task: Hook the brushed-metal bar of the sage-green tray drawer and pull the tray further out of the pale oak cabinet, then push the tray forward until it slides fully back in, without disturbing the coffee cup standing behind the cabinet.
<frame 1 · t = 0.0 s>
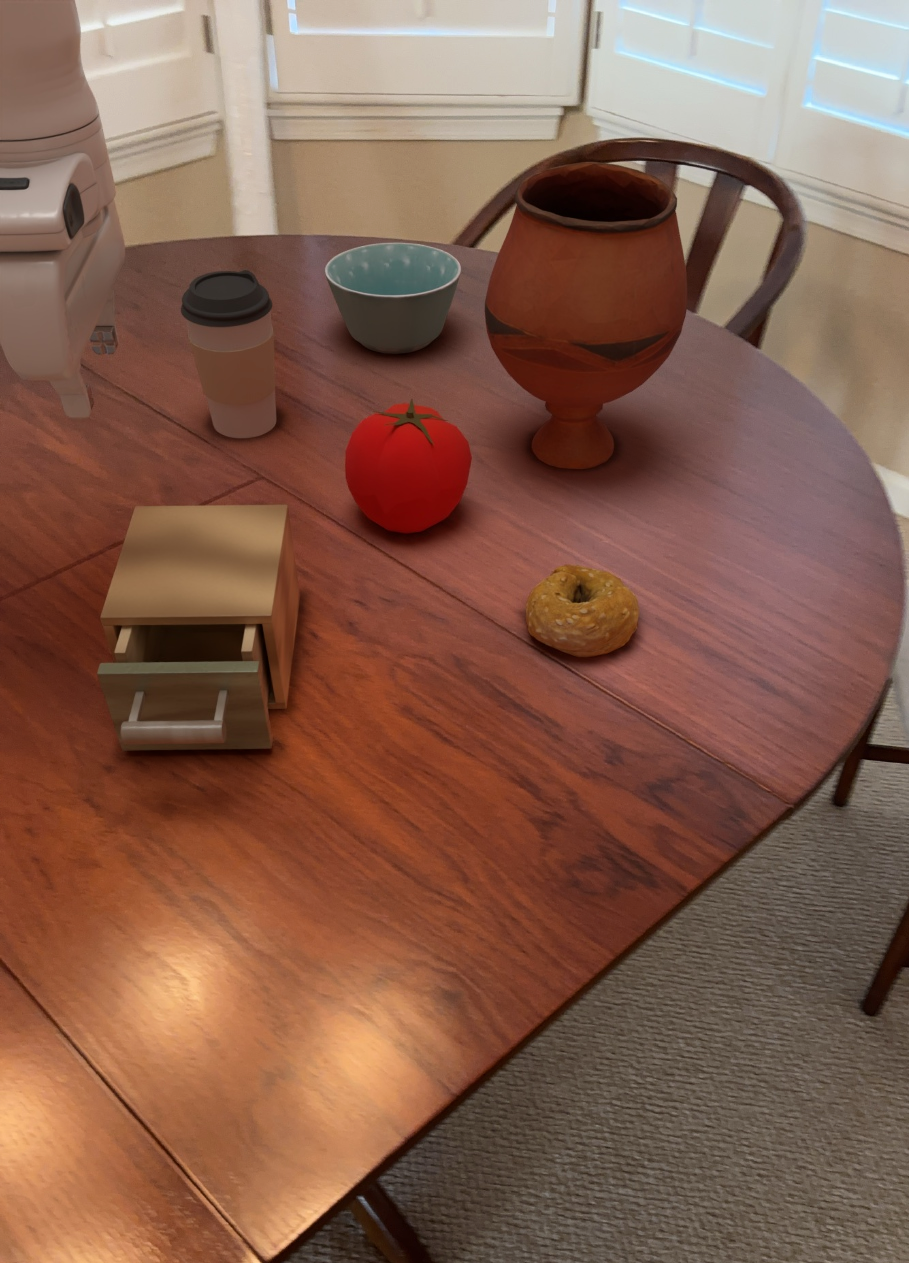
hand: (94, 380, 78), 21 cm above the table, tool pointing down, fingers open, 8 cm apart
goblet: (572, 451, 112), on the table
tray drawer: (195, 673, 81), point 5 cm above the table, slide at 4.0 cm
coffee cup: (245, 425, 116), on the table
tomato: (409, 518, 104), on the table
bowl: (395, 339, 129), on the table
cabinet: (219, 652, 90), on the table
bagel: (580, 627, 93), on the table
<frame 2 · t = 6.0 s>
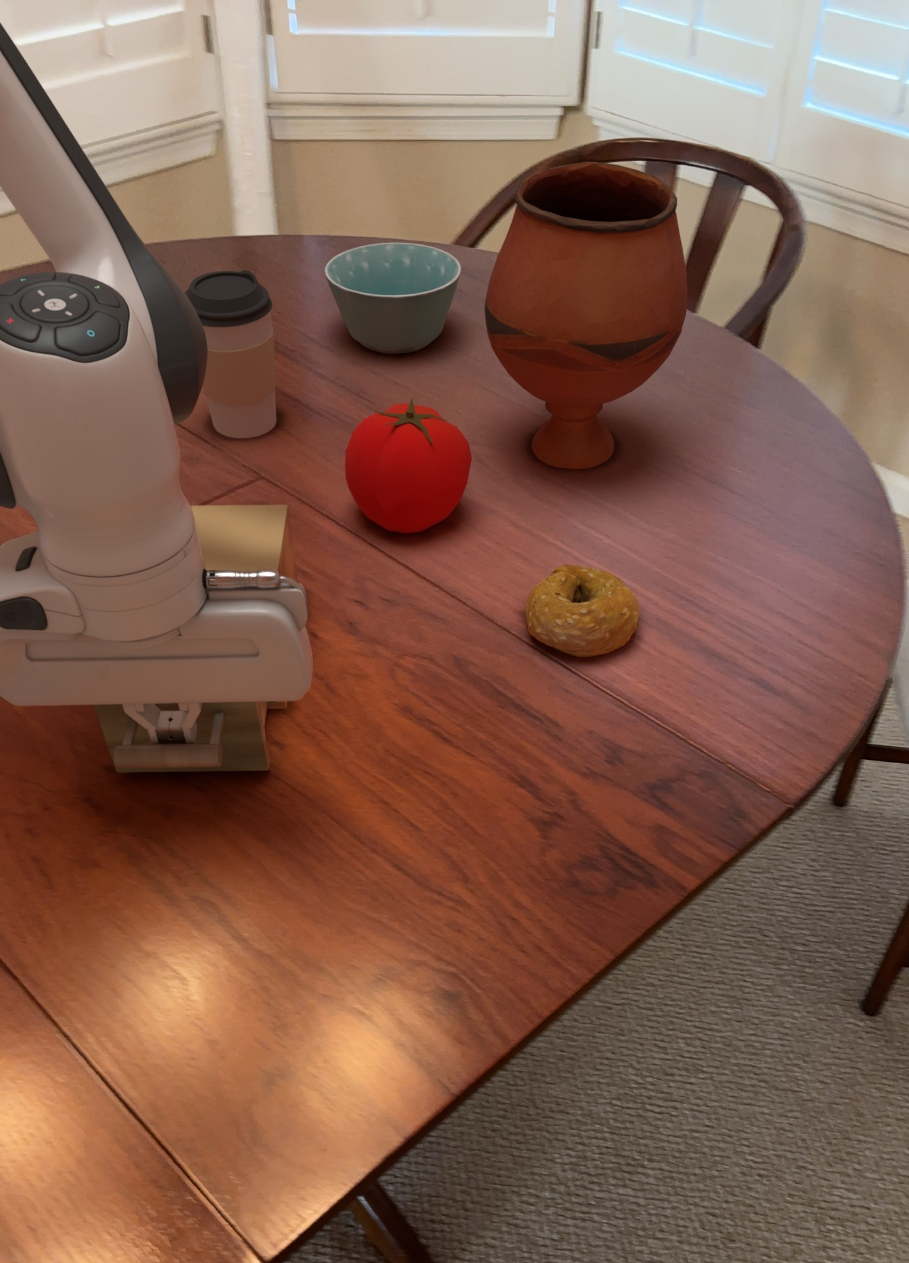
hand: (175, 738, 74), 7 cm above the table, tool pointing down, fingers closed
tray drawer: (191, 693, 80), point 5 cm above the table, slide at 6.3 cm, touching gripper
everything else where it was.
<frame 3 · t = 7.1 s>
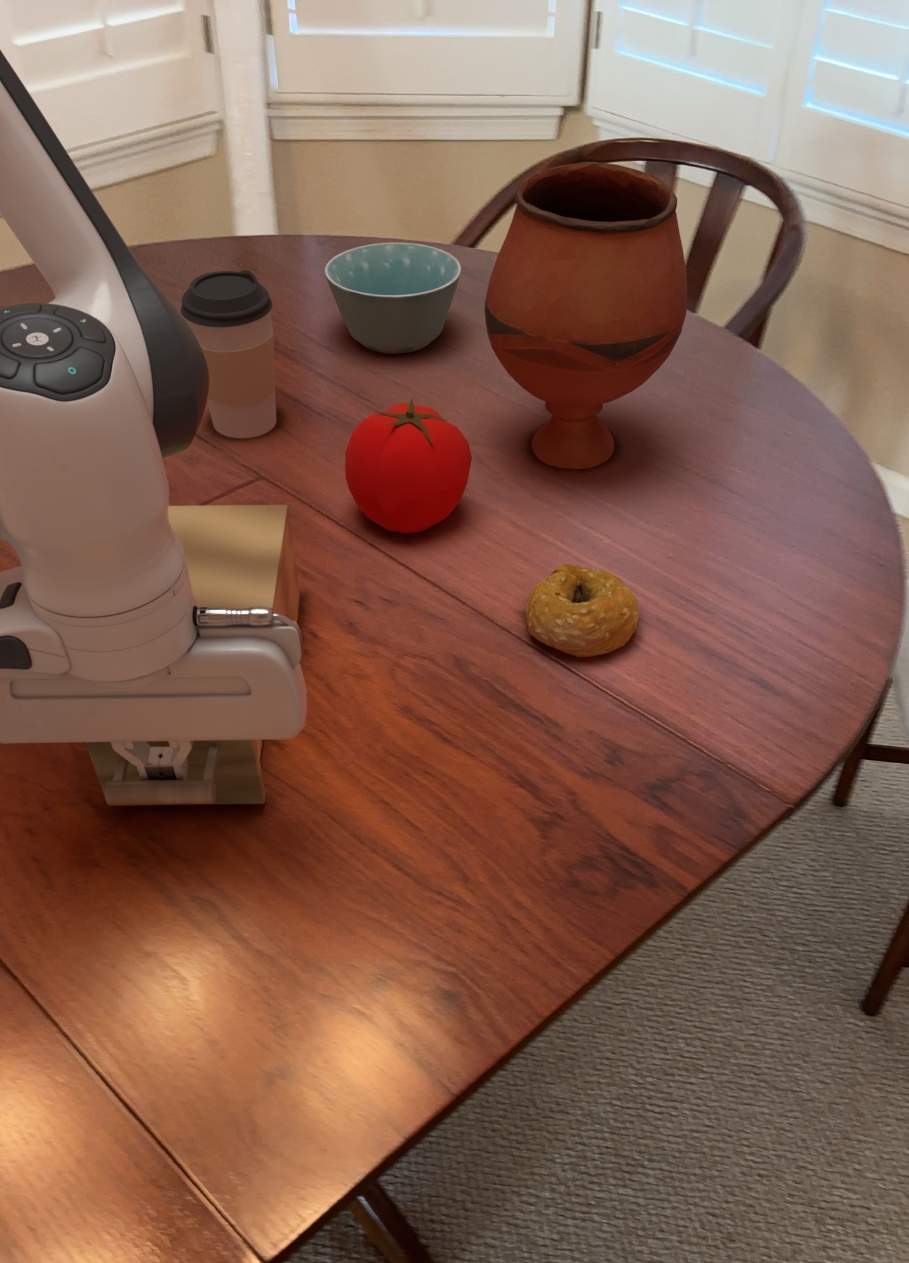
hand: (166, 774, 72), 7 cm above the table, tool pointing down, fingers closed, pressing on tray drawer
tray drawer: (184, 725, 78), point 5 cm above the table, slide at 9.6 cm, touching gripper
everything else where it was.
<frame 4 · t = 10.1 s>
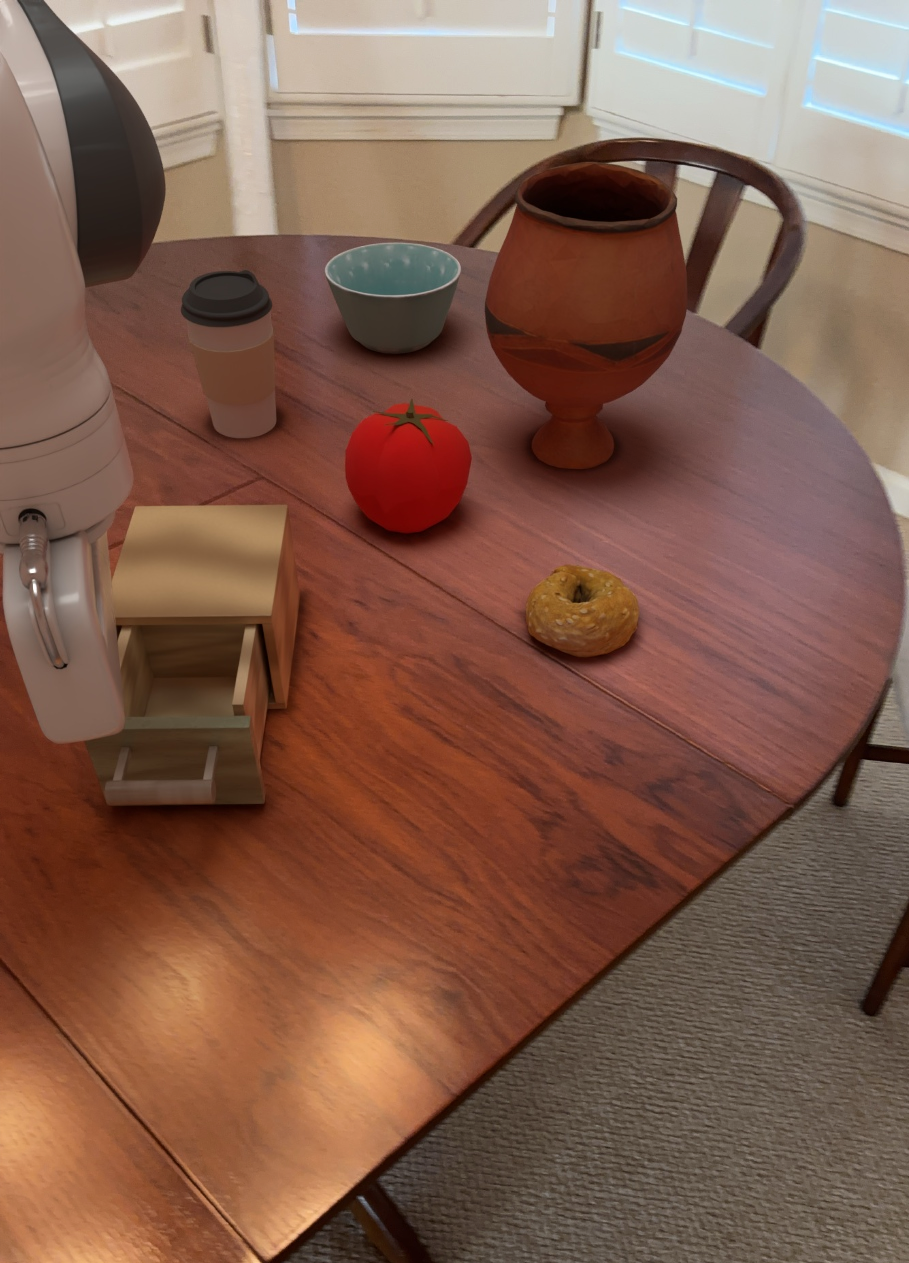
hand: (103, 684, 59), 19 cm above the table, tool pointing down, fingers closed
tray drawer: (184, 725, 78), point 5 cm above the table, slide at 9.6 cm
everything else where it was.
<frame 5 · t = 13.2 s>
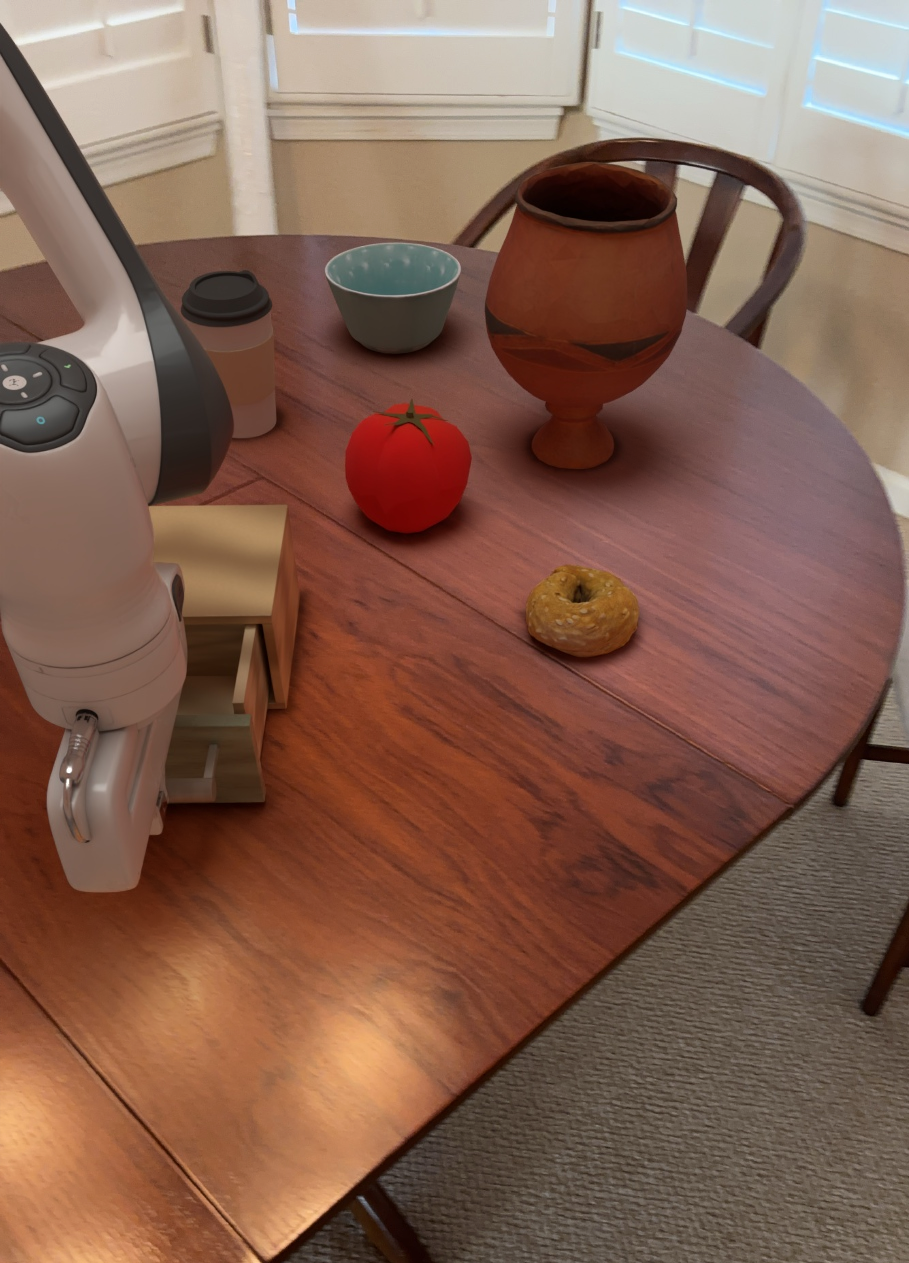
hand: (153, 818, 70), 6 cm above the table, tool pointing down, fingers closed
tray drawer: (185, 723, 78), point 5 cm above the table, slide at 9.5 cm, touching gripper
everything else where it was.
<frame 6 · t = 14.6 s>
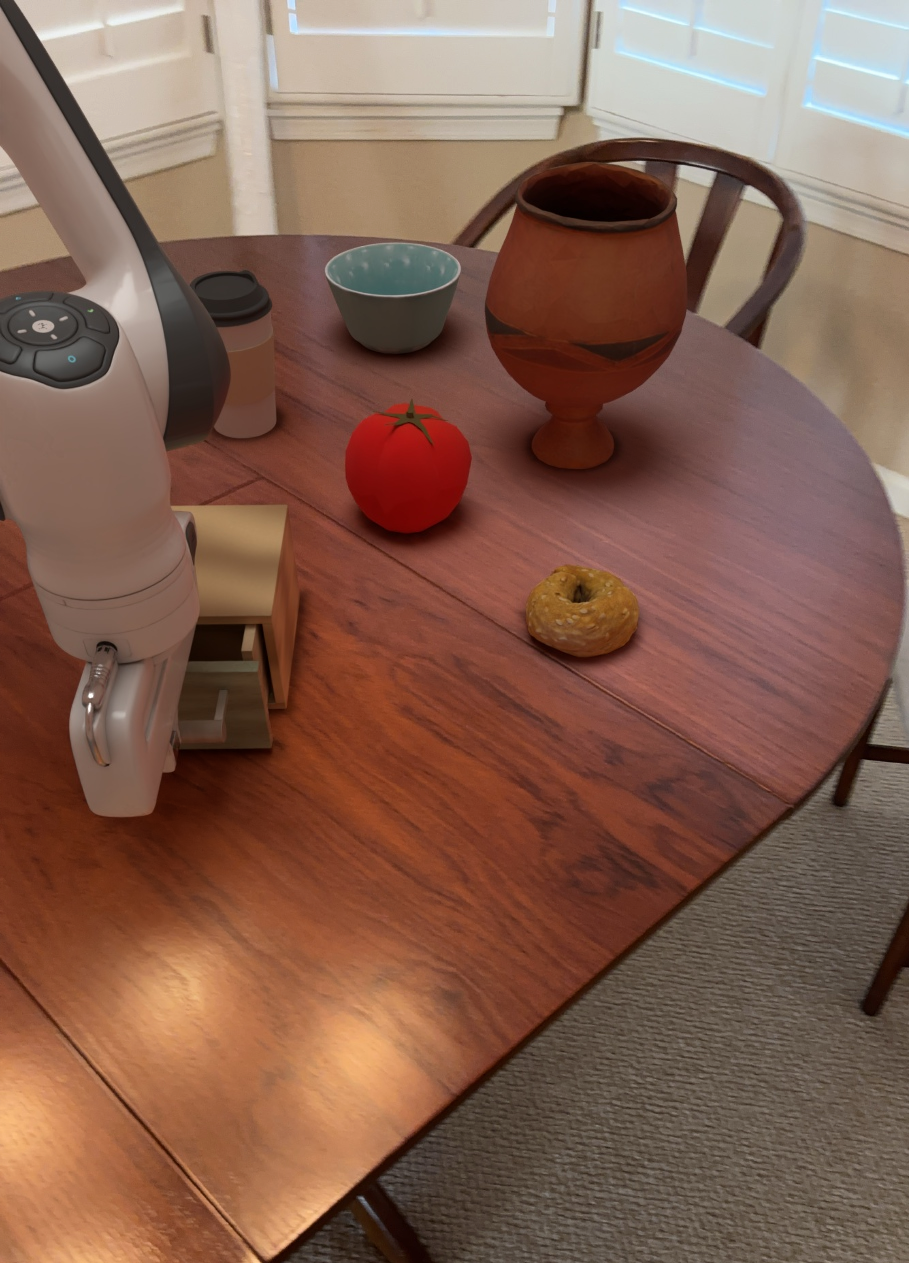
hand: (166, 757, 73), 6 cm above the table, tool pointing down, fingers closed
tray drawer: (195, 673, 81), point 5 cm above the table, slide at 3.9 cm, touching gripper
everything else where it was.
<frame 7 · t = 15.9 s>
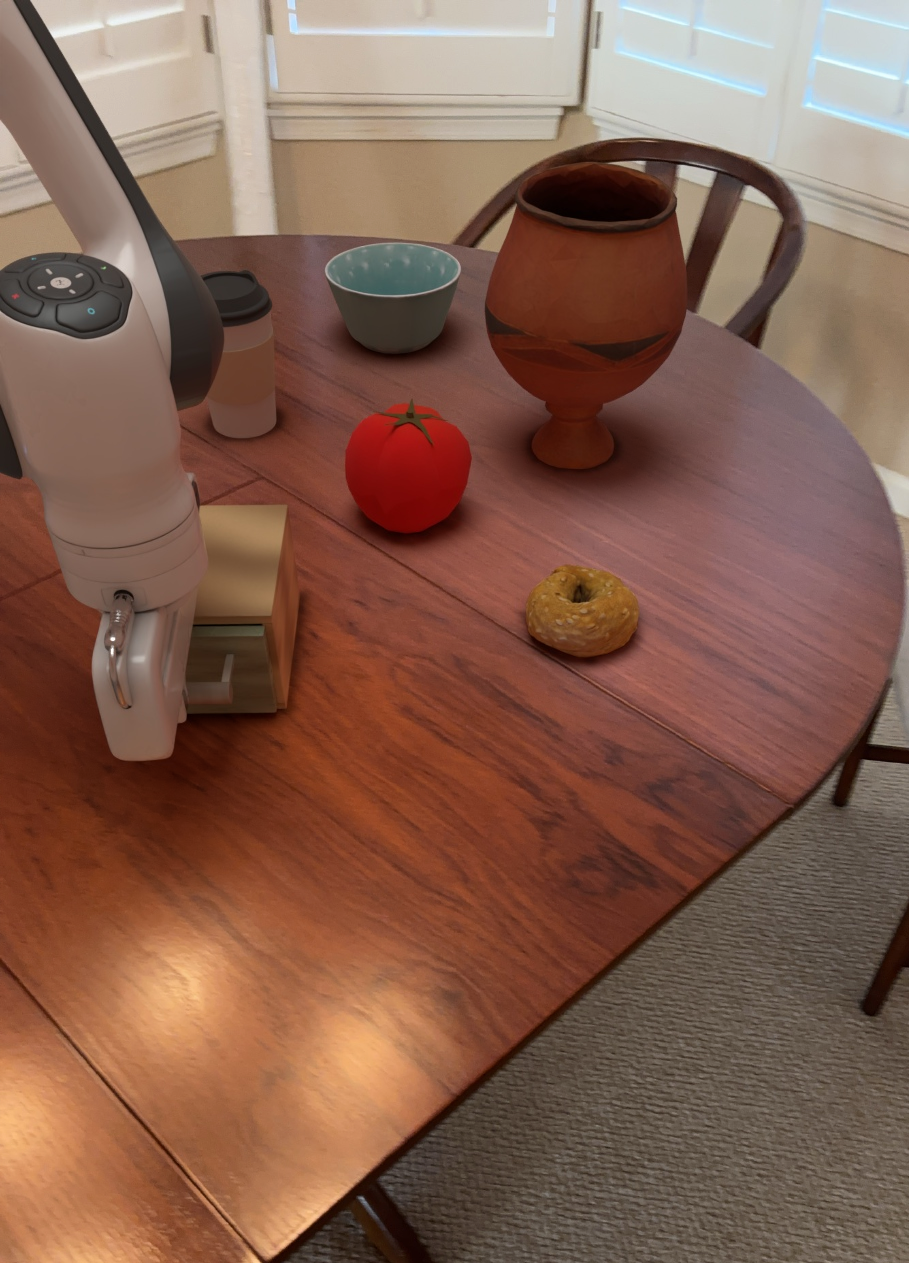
hand: (176, 713, 76), 7 cm above the table, tool pointing down, fingers closed
tray drawer: (202, 639, 84), point 5 cm above the table, slide at 0.0 cm, touching cabinet, gripper
everything else where it was.
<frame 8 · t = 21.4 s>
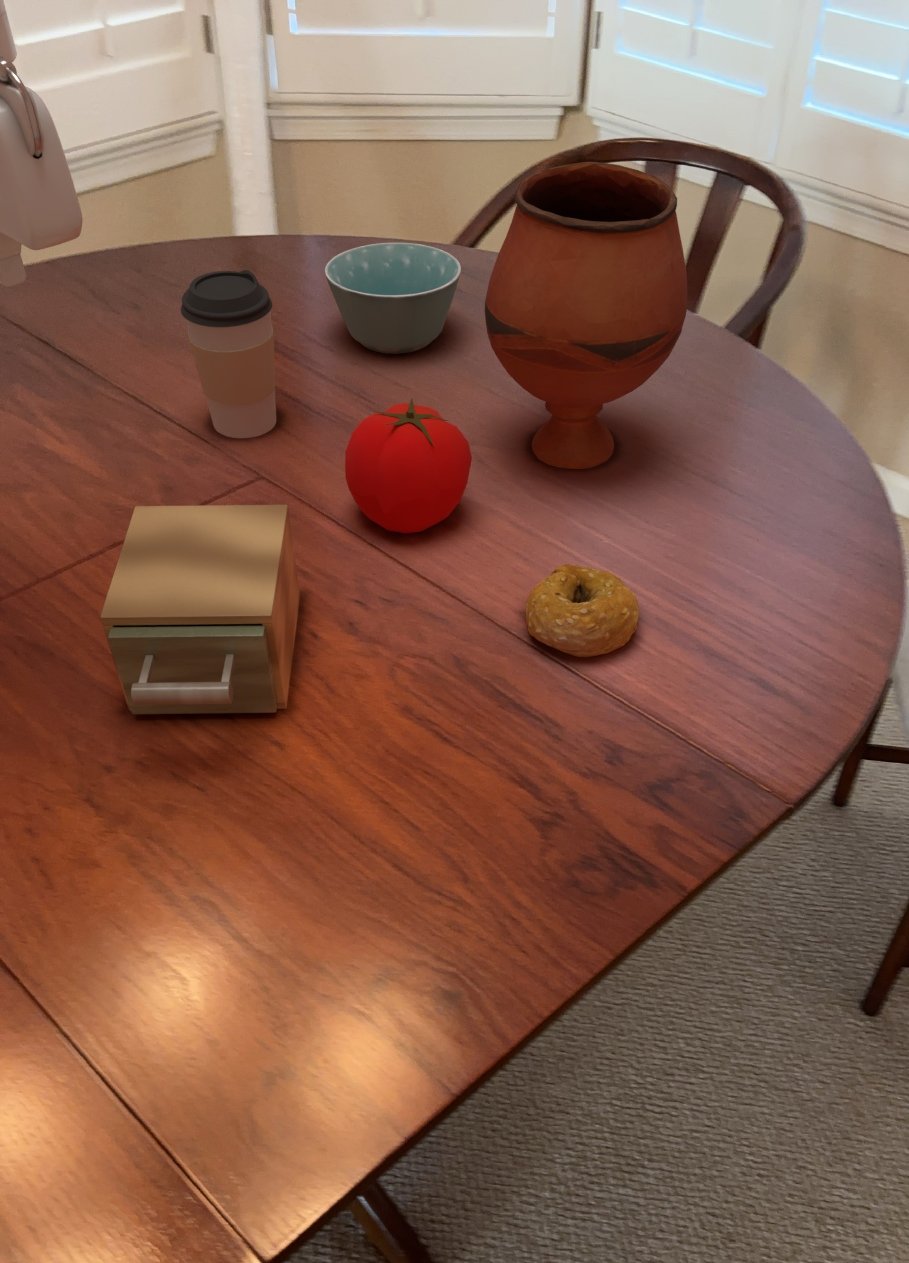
hand: (5, 278, 71), 29 cm above the table, tool pointing down, fingers closed
tray drawer: (202, 639, 84), point 5 cm above the table, slide at 0.0 cm, touching cabinet
everything else where it was.
at the end: tray drawer slide at 0.0 cm; coffee cup moved 0.2 cm from its start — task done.
